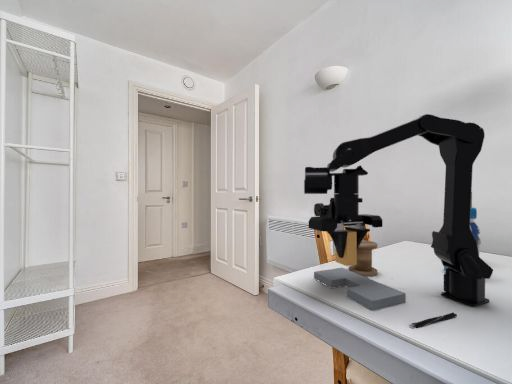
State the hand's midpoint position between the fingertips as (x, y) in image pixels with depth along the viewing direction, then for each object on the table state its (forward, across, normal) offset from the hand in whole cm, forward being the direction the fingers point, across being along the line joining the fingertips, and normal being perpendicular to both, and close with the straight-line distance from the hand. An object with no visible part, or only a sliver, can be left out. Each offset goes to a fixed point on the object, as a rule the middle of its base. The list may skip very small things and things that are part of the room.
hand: (346, 256), depth 61 cm
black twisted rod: (+9, -5, +18) cm, 20 cm away
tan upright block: (+2, 0, 0) cm, 2 cm away
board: (+8, -3, 0) cm, 9 cm away
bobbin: (+8, -15, -9) cm, 19 cm away
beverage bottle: (+9, -40, +4) cm, 41 cm away
